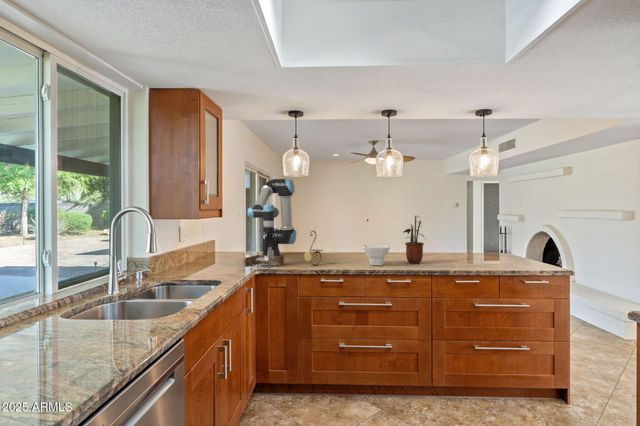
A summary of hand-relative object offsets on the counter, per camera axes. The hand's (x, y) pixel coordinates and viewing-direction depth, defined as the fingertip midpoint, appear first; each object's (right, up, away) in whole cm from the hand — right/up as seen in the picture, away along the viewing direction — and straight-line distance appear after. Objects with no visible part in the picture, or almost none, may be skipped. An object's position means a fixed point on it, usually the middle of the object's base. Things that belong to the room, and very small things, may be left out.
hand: (269, 259), depth 268 cm
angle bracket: (-4, 0, +2) cm, 4 cm away
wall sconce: (+32, -5, +6) cm, 33 cm away
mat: (-3, -5, +2) cm, 6 cm away
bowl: (+75, -5, +4) cm, 76 cm away
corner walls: (-4, -5, +5) cm, 8 cm away
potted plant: (+105, -4, +11) cm, 105 cm away
